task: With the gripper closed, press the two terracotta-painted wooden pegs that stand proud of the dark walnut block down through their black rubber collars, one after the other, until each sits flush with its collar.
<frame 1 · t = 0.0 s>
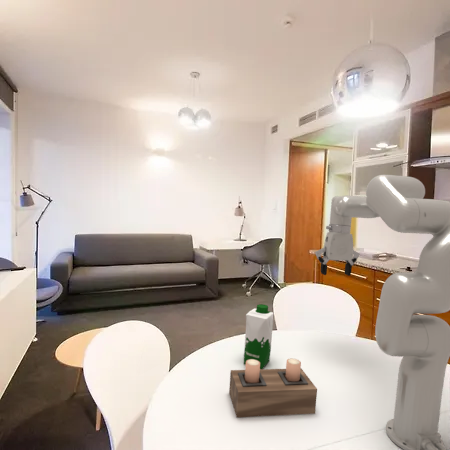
hand: (335, 274, 125), 31 cm above the table, fingers open, 9 cm apart
walnut block: (270, 402, 94), on the table
peg b: (292, 373, 94), point 9 cm above the table, slide at 5.0 cm
milk carton: (256, 363, 117), on the table
peg a: (252, 374, 92), point 9 cm above the table, slide at 5.0 cm
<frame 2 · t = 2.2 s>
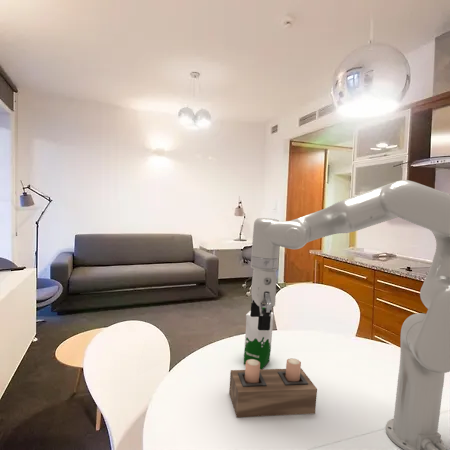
hand: (259, 322, 93), 23 cm above the table, fingers open, 9 cm apart
nothing on the table moved.
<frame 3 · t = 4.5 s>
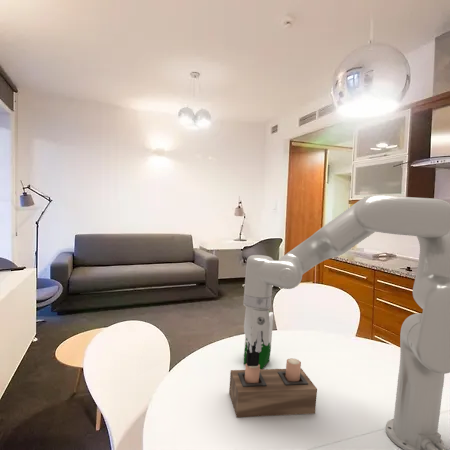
hand: (252, 364, 92), 11 cm above the table, fingers closed
peg a: (251, 377, 92), point 8 cm above the table, slide at 4.3 cm, touching gripper
everything else where it was.
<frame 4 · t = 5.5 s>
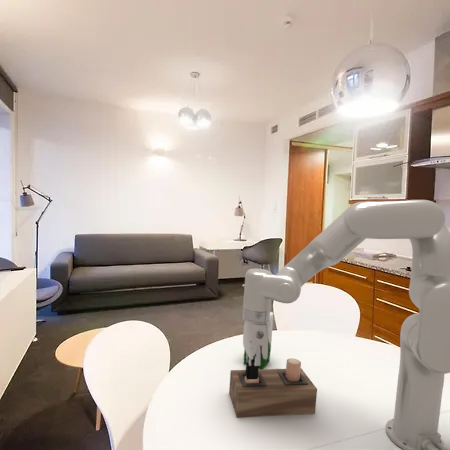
hand: (251, 377, 93), 8 cm above the table, fingers closed
peg a: (251, 390, 93), point 4 cm above the table, slide at 0.5 cm, touching gripper
everything else where it was.
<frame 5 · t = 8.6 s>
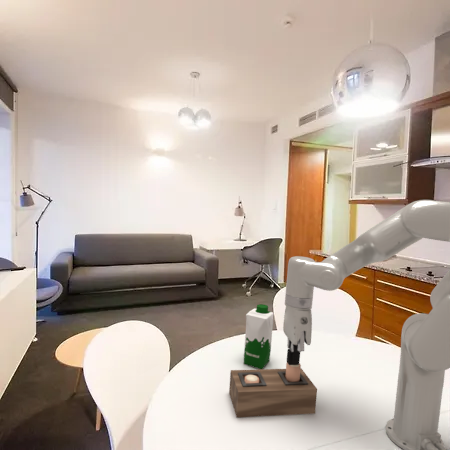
hand: (292, 363, 94), 11 cm above the table, fingers closed
peg b: (292, 375, 95), point 8 cm above the table, slide at 4.3 cm, touching gripper
peg a: (251, 390, 93), point 4 cm above the table, slide at 0.4 cm
everything else where it was.
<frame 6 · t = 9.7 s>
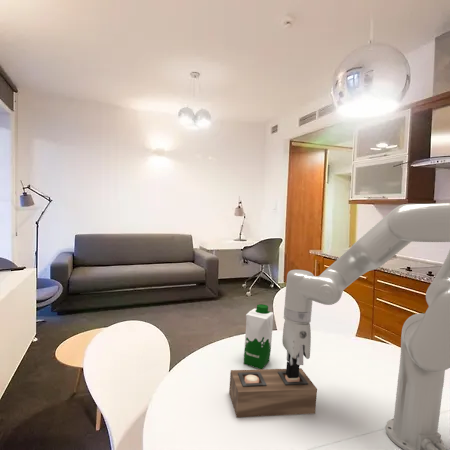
hand: (292, 376, 95), 8 cm above the table, fingers closed
peg b: (291, 388, 95), point 4 cm above the table, slide at 0.4 cm, touching gripper
everything else where it was.
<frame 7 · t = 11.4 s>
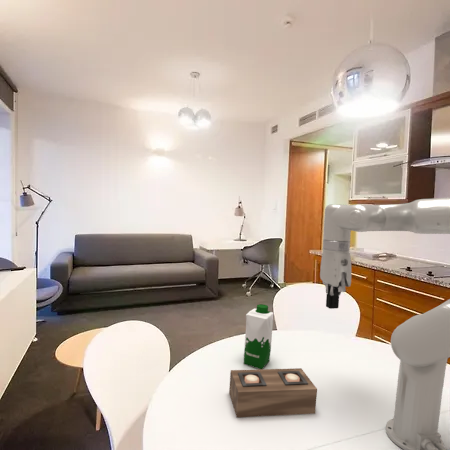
hand: (332, 307, 98), 27 cm above the table, fingers closed
peg b: (291, 388, 95), point 4 cm above the table, slide at 0.4 cm
everything else where it was.
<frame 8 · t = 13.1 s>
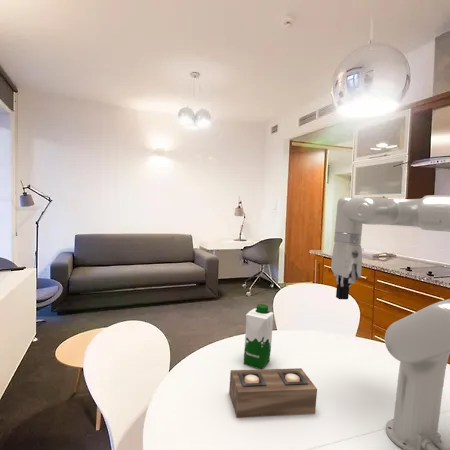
hand: (341, 298, 100), 29 cm above the table, fingers closed
nothing on the table moved.
at the end: peg a slide at 0.4 cm; peg b slide at 0.4 cm; peg a touching nothing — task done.
